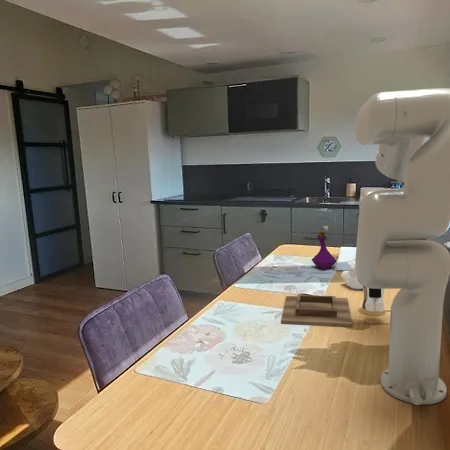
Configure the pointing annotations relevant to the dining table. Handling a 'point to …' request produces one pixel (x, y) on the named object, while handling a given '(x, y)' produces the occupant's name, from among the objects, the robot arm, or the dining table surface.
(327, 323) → the walnut stand
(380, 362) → the dining table surface
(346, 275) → the bust
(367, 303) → the white piece
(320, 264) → the perfume bottle
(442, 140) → the robot arm
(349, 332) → the dining table surface
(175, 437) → the dining table surface
